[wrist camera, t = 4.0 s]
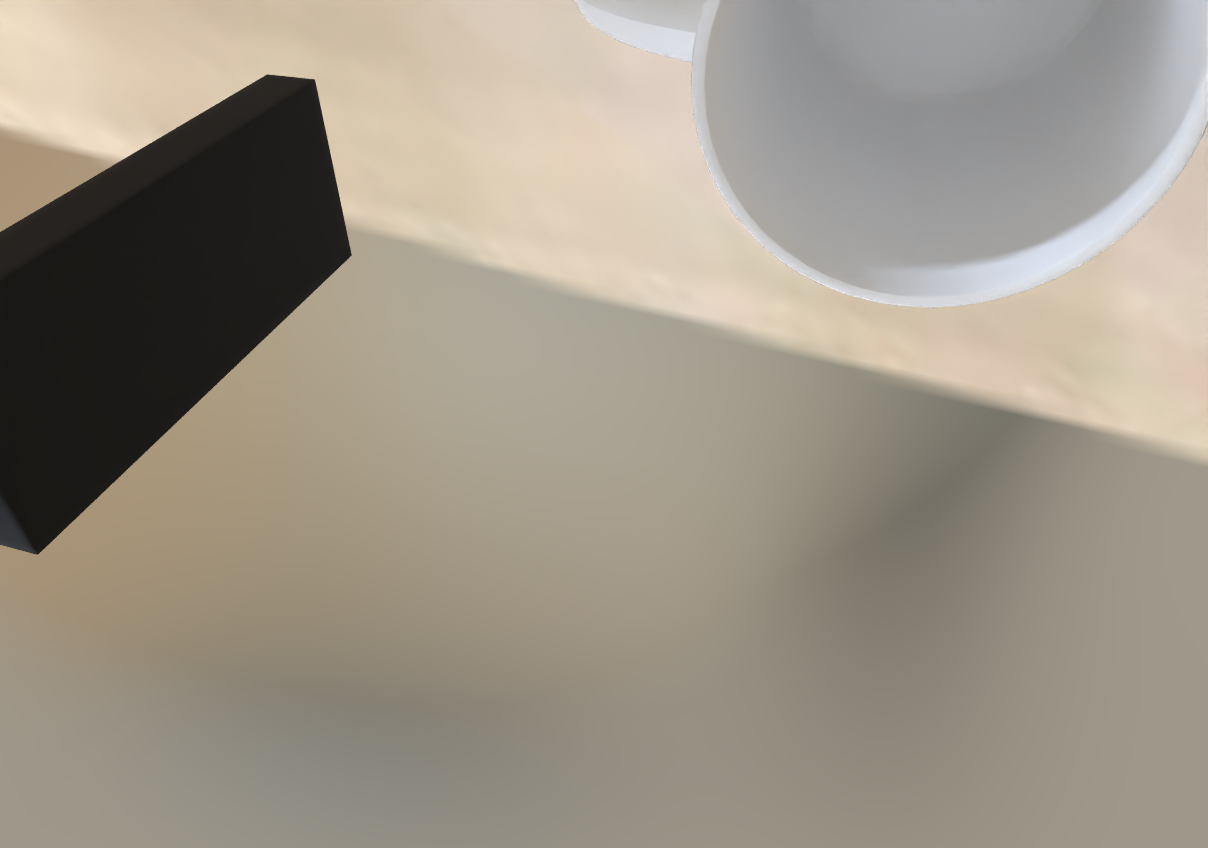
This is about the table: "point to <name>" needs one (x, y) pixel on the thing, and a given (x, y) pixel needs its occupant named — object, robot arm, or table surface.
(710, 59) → the mug
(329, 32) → the table surface
